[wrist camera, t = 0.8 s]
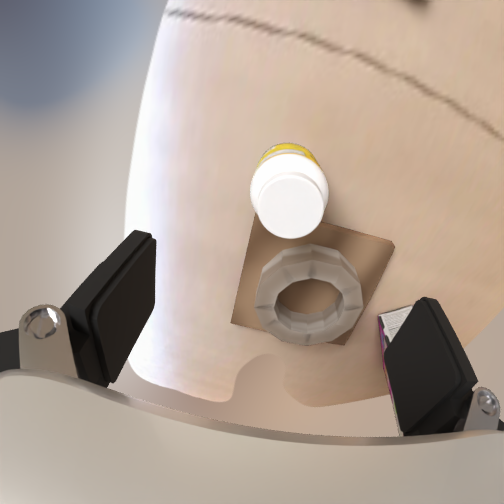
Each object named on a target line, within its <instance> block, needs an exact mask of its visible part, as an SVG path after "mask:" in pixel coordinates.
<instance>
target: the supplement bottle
mask: <svg viewBox="0 0 504 504" xmlns="http://www.w3.org/2000/svg"><path fill="white" fill-rule="evenodd" d="M328 197H329V189H328V183H327V180H326V177H325V175H324V173H323V171H322V170H321V168H320V166H319V164H318V163H317V161H316V159H315V157H314V156H313V155H312V153H311V152H310V151H309V150H307V149H306V148H305V147H303V146H301V145H298V144H295V143H280V144H277V145H274V146H272V147H271V148H269V149H268V150H267V151H266V152H265V153H264V154H263V156H262V157H261V159H260V161H259V163H258V166H257V168H256V171H255V174H254V176H253V179H252V182H251V187H250V198H251V202H252V206H253V208H254V210H255V212H256V213H257V215H258V216H259V219H260V221H261V223H262V224H263V226H264V227H265V228H266V229H267V230H268V231H269V232H271V233H272V234H274V235H276V236H278V237H282V238H287V239H294V238H300V237H303V236H305V235H307V234H309V233H311V232H312V231H313V230H314V229H315V228H316V227H317V226H318V225H319V223H320V222H321V220H322V217H323V214H324V210H325V208H326V206H327V202H328Z"/></svg>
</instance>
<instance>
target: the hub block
mask: <svg viewBox="0 0 504 504" xmlns="http://www.w3.org/2000/svg"><path fill="white" fill-rule="evenodd" d="M394 248H395V246H394V244H393V243H392V241H389V240H385V239H382V238H378V237H375V236H371V235H368V234H364V233H361V232H357V231H353V230H350V229H346V228H342V227H339V226H335V225H331V224H327V223H323V222H320V223H319V225H318V226H317V227H316V228H315V229H314V230H313V231H312V232H311V233H309V234H307V235H305V236H303V237H300V238H294V239H287V238H282V237H278V236H276V235H274V234H272V233H271V232H269V231H268V230H267V229H266V228H265V227H264V226H263V224H262V223H261V221H260V219H259V216H258V215H257V213H255V217H254V221H253V226H252V230H251V234H250V239H249V243H248V248H247V252H246V256H245V261H244V265H243V270H242V274H241V279H240V283H239V287H238V292H237V296H236V301H235V305H234V310H233V314H232V319H231V323H232V324H236V325H241V326H245V327H250V328H254V329H259V330H263V331H268V332H269V333H271V334H272V335H274V336H275V337H276V338H278V339H279V340H281V341H283V342H289V343H294V344H299V345H305V346H308V345H314V344H319V343H324V342H326V343H332V344H338V345H345V343H346V342H347V340H348V338H349V336H350V335H351V333H352V331H353V329H354V328H355V326H356V324H357V322H358V320H359V319H360V317H361V315H362V313H363V311H364V309H365V308H366V306H367V304H368V302H369V300H370V298H371V296H372V294H373V292H374V290H375V288H376V286H377V284H378V282H379V280H380V278H381V276H382V274H383V272H384V270H385V268H386V266H387V264H388V262H389V259H390V257H391V255H392V253H393V251H394Z"/></svg>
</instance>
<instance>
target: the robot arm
mask: <svg viewBox="0 0 504 504" xmlns="http://www.w3.org/2000/svg"><path fill="white" fill-rule="evenodd" d="M155 267H156V239H153V238H152V235H151V233H147V232H142V231H138V230H134V231H133V232H132V233H131V234H130V235H129V236H128V237H127V238H126V239H125V240H124V241H123V242H122V243H121V244H120V245H119V246H118V247H117V248H116V249H115V250H114V251H113V252H112V253H111V254H110V255H109V256H108V257H107V259H106V260H105V261H104V262H102V263H101V264H99V265H98V266H97V268H96V269H95V270H94V271H93V272H92V273H91V274H90V275H89V276H88V277H87V279H86V280H85V281H84V282H83V283H82V284H81V285H80V286H79V288H78V289H77V290H76V291H75V292H74V293H73V294H72V295H71V297H70V298H69V299H68V300H67V301H66V302H65V304H64V305H63V306H62V307H61V308H60V309H59V308H57V307H56V306H53V305H38V306H35V307H33V308H31V309H29V310H28V311H27V312H26V313H25V314H24V315H23V316H22V318H21V320H20V323H19V328H18V329H14V330H10V331H5V332H1V333H0V504H504V422H502V421H501V420H500V419H499V416H500V405H499V401H498V399H497V397H496V396H495V395H494V394H493V393H492V392H491V391H490V390H489V389H487V388H484V387H478V388H477V389H476V390H475V391H474V392H473V391H472V387H473V386H474V385H475V384H476V383H477V382H478V380H477V377H476V375H475V373H474V371H473V368H472V367H471V364H470V362H469V360H468V358H467V356H466V353H465V351H464V349H463V347H462V345H461V343H460V341H459V339H458V337H457V335H456V333H455V331H454V330H453V328H452V326H451V324H450V322H449V320H448V318H447V317H446V315H445V313H444V311H443V309H442V308H441V306H440V304H439V302H438V301H437V300H436V299H432V298H427V297H422V298H421V299H420V300H418V301H416V303H415V304H414V306H413V308H412V309H411V311H410V313H409V314H408V316H407V317H406V319H405V321H404V322H403V324H402V325H401V327H400V329H399V330H398V332H397V333H396V335H395V336H394V338H393V339H392V341H391V342H390V344H389V345H388V347H387V348H386V350H385V352H384V362H385V366H386V370H387V374H388V378H389V382H390V386H391V390H392V394H393V399H394V403H395V408H396V412H397V417H398V422H399V427H400V430H401V431H402V432H403V435H404V436H403V437H341V436H323V435H310V434H299V433H291V432H283V431H275V430H268V429H261V428H255V427H249V426H243V425H238V424H233V423H228V422H223V421H218V420H214V419H209V418H205V417H201V416H196V415H192V414H188V413H185V412H181V411H178V410H174V409H171V408H167V407H163V406H160V405H157V404H153V403H149V402H147V401H144V400H140V399H137V398H134V397H131V396H128V395H125V394H123V393H119V392H117V391H114V390H111V389H108V388H107V387H108V385H109V383H110V382H111V383H114V382H115V381H116V380H117V378H118V376H119V374H120V372H121V370H122V368H123V366H124V364H125V362H126V360H127V358H128V356H129V354H130V352H131V350H132V348H133V347H134V345H135V343H136V341H137V339H138V337H139V335H140V333H141V332H142V330H143V328H144V326H145V324H146V322H147V320H148V319H149V317H150V315H151V313H152V311H153V309H154V305H155Z"/></svg>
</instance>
